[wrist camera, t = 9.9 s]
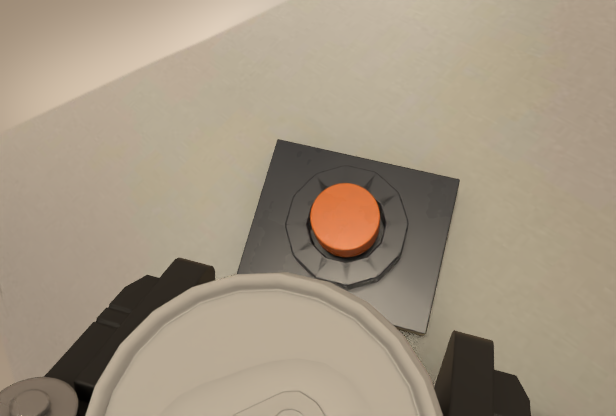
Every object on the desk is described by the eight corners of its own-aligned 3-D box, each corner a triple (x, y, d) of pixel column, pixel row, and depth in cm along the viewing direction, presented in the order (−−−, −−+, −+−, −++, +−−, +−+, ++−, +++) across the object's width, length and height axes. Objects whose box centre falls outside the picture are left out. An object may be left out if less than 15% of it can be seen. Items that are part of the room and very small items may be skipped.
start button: (306, 248, 32) (301, 240, 30) (323, 187, 33) (320, 175, 31) (370, 264, 31) (370, 258, 29) (386, 201, 32) (387, 191, 30)
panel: (240, 286, 35) (226, 278, 31) (281, 148, 37) (272, 127, 33) (422, 336, 33) (429, 332, 30) (455, 188, 35) (465, 169, 32)
